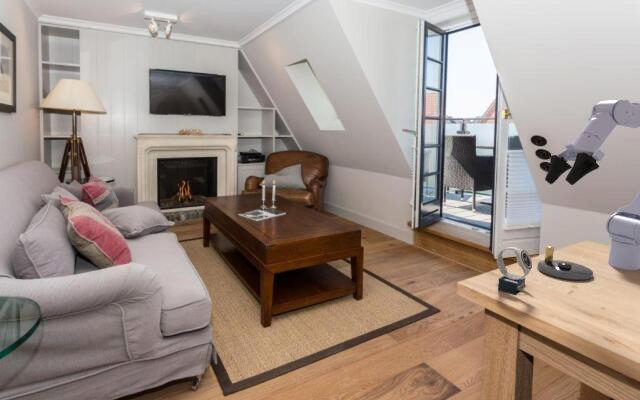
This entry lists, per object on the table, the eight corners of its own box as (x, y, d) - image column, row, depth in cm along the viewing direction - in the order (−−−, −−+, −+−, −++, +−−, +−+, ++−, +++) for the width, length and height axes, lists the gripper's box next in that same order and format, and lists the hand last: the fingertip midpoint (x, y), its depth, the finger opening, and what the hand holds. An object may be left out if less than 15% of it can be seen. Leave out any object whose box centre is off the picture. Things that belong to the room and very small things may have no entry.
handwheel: (604, 276, 108) (606, 256, 107) (569, 283, 103) (572, 263, 102) (559, 260, 120) (561, 242, 119) (526, 266, 115) (528, 248, 114)
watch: (523, 297, 99) (528, 254, 97) (490, 288, 104) (494, 246, 102) (532, 291, 103) (537, 249, 100) (500, 282, 108) (503, 242, 106)
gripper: (559, 132, 111) (529, 172, 110) (601, 126, 96) (567, 172, 96) (577, 149, 112) (547, 188, 111) (622, 145, 97) (588, 190, 97)
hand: (558, 182), depth 104 cm, fingers open, 7 cm apart
